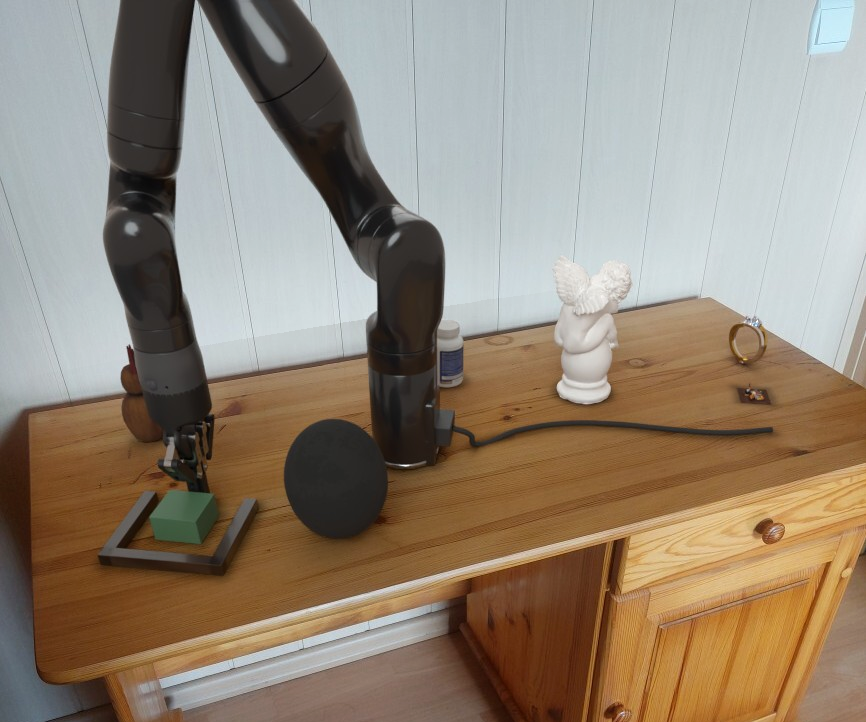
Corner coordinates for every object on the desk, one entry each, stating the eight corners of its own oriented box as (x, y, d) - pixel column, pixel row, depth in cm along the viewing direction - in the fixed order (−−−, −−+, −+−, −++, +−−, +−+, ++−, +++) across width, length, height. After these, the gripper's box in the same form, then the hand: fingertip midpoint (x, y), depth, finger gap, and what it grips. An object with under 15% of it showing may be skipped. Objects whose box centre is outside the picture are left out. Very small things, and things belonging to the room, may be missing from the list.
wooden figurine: (160, 449, 118) (136, 352, 108) (123, 445, 119) (96, 349, 109) (180, 426, 123) (159, 332, 114) (145, 422, 124) (121, 328, 115)
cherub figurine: (612, 378, 134) (631, 243, 121) (628, 416, 124) (651, 273, 111) (538, 380, 134) (549, 244, 120) (549, 417, 124) (562, 274, 111)
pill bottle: (469, 378, 135) (470, 322, 129) (452, 391, 131) (452, 334, 125) (441, 370, 137) (441, 315, 131) (424, 383, 133) (423, 326, 127)
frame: (258, 508, 106) (256, 498, 105) (223, 576, 95) (220, 565, 94) (147, 500, 108) (144, 490, 107) (100, 565, 97) (97, 554, 96)
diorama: (744, 400, 128) (748, 388, 127) (741, 389, 131) (744, 377, 130) (764, 401, 128) (767, 389, 126) (760, 390, 131) (764, 378, 129)
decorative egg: (340, 574, 95) (329, 466, 86) (271, 533, 102) (254, 428, 93) (410, 526, 103) (407, 421, 94) (342, 490, 109) (332, 389, 100)
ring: (764, 369, 137) (776, 323, 132) (749, 372, 136) (761, 327, 131) (735, 353, 142) (745, 308, 137) (720, 356, 140) (730, 311, 136)
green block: (219, 516, 105) (214, 493, 103) (201, 544, 100) (195, 521, 98) (175, 511, 106) (169, 489, 103) (155, 539, 101) (148, 517, 99)
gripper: (181, 406, 90) (209, 531, 101) (223, 354, 100) (245, 472, 111) (117, 401, 91) (152, 526, 102) (165, 350, 101) (192, 468, 112)
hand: (200, 498), depth 106 cm, fingers closed
